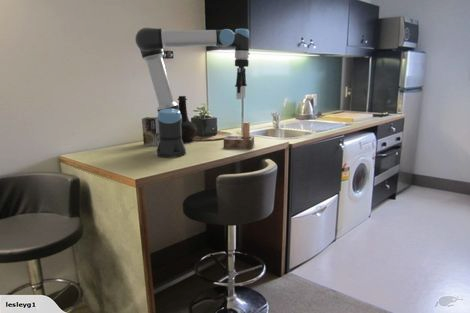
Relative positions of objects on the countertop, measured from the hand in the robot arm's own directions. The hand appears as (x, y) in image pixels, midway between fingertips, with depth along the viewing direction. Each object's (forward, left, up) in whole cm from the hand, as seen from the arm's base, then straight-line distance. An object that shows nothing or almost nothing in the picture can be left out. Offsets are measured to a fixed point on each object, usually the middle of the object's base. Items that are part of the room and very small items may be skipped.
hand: (240, 98), depth 193 cm
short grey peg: (-5, +1, -28) cm, 28 cm away
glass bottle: (-39, +12, -28) cm, 50 cm away
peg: (+3, +1, -28) cm, 28 cm away
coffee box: (-53, -3, -28) cm, 60 cm away
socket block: (-1, +1, -28) cm, 28 cm away
